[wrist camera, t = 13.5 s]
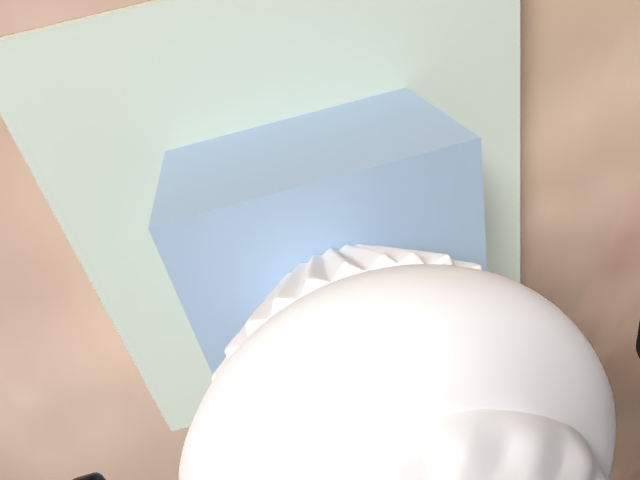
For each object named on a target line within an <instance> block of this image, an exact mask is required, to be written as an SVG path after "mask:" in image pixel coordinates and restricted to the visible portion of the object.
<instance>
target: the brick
mask: <svg viewBox="0 0 640 480" xmlns="http://www.w3.org/2000/svg"><path fill="white" fill-rule="evenodd" d="M148 230H149V232H150V234H151V237H152V239H153V241H154V243H155V246H156V248H157V250H158V252H159V255H160V257H161V259H162V261H163V264H164V266H165V268H166V271H167V273H168V275H169V277H170V280H171V282H172V284H173V286H174V289H175V291H176V293H177V295H178V298H179V300H180V302H181V304H182V307H183V309H184V311H185V313H186V316H187V318H188V320H189V323H190V325H191V327H192V329H193V332H194V334H195V336H196V338H197V341H198V343H199V345H200V347H201V350H202V352H203V354H204V356H205V359H206V361H207V363H208V365H209V368H210V370H211V372H212V375H213V374H214V372H215V371H216V369H217V368H218V367H219V365H220V364H221V363H222V361H223V360H224V359H225V357H226V354H225V352H224V351H225V348H226V346H227V345H228V344H229V343H230V342H231V341H232V339H233V338H234V337H235V336H236V335H237V334H238V332H239V331H240V330H241V329H242V328H243V326H244V325H245V324H246V322H247V320H248V319H249V317H250V316H251V315H252V314H253V313H254V312H255V311H256V309H257V308H258V307H259V306H260V305H261V303H262V302H263V301H264V300H265V299H266V298H267V296H268V295H269V294H270V293H271V292H272V291H273V289H274V288H275V287H276V286H277V285H278V284H279V282H280V281H281V280H282V279H283V278H284V277H285V276H286V275H287V274H288V273H292V272H293V270H294V269H295V268H296V267H297V265H298V264H299V263H307V262H309V261H310V259H311V257H312V255H314V254H317V255H323V254H324V253H325V252H326V251H327V250H328V249H329V248H333V249H335V250H339V249H340V248H341V247H343V246H344V245H346V244H348V245H352V246H355V245H356V244H365V245H371V246H373V245H379V246H386V247H394V248H402V249H409V250H418V251H426V252H434V253H442V254H447V255H449V256H451V258H452V259H453V260H459V261H465V262H471V263H476V264H479V265H480V266H481V267H482V270H483V271H487V259H486V237H485V215H484V193H483V170H482V148H481V137H480V136H478V135H477V134H475V133H474V132H472V131H471V130H469V129H468V128H466V127H465V126H463V125H462V124H460V123H459V122H457V121H456V120H454V119H453V118H451V117H450V116H448V115H447V114H445V113H444V112H442V111H441V110H439V109H438V108H436V107H435V106H433V105H432V104H430V103H429V102H427V101H426V100H424V99H423V98H421V97H420V96H418V95H417V94H415V93H414V92H412V91H411V90H409V89H408V88H406V87H405V88H402V89H398V90H394V91H390V92H386V93H383V94H379V95H375V96H371V97H368V98H364V99H360V100H356V101H352V102H349V103H345V104H341V105H337V106H334V107H330V108H326V109H322V110H318V111H315V112H311V113H307V114H303V115H300V116H296V117H292V118H288V119H284V120H281V121H277V122H273V123H269V124H266V125H262V126H258V127H254V128H250V129H247V130H243V131H239V132H235V133H232V134H228V135H224V136H220V137H216V138H213V139H209V140H205V141H201V142H198V143H194V144H190V145H186V146H182V147H179V148H175V149H171V150H167V151H165V154H164V159H163V163H162V168H161V172H160V177H159V181H158V186H157V190H156V195H155V199H154V204H153V208H152V213H151V217H150V221H149V226H148Z"/></svg>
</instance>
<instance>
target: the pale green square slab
mask: <svg viewBox="0 0 640 480" xmlns="http://www.w3.org/2000/svg"><path fill="white" fill-rule="evenodd" d="M405 87H406V88H408V89H409V90H411V91H412V92H414V93H415V94H417V95H418V96H420V97H421V98H423V99H424V100H426V101H427V102H429V103H430V104H432V105H433V106H435V107H436V108H438V109H439V110H441V111H442V112H444V113H445V114H447V115H448V116H450V117H451V118H453V119H454V120H456V121H457V122H459V123H460V124H462V125H463V126H465V127H466V128H468V129H469V130H471V131H472V132H474V133H475V134H477V135H478V136H480V137H481V148H482V170H483V193H484V215H485V237H486V259H487V272H491V273H495V274H498V275H501V276H504V277H506V278H509V279H511V280H514V281H516V282H518V283H520V0H152V1H148V2H144V3H140V4H136V5H132V6H128V7H123V8H119V9H115V10H111V11H107V12H103V13H99V14H95V15H90V16H86V17H82V18H78V19H74V20H70V21H66V22H62V23H57V24H53V25H49V26H45V27H41V28H37V29H33V30H29V31H24V32H20V33H16V34H12V35H8V36H4V37H0V115H1V117H2V119H3V121H4V122H5V124H6V126H7V128H8V130H9V132H10V134H11V135H12V137H13V139H14V141H15V143H16V145H17V147H18V148H19V150H20V152H21V154H22V156H23V158H24V160H25V161H26V163H27V165H28V167H29V169H30V171H31V173H32V174H33V176H34V178H35V180H36V182H37V184H38V185H39V187H40V189H41V191H42V193H43V195H44V197H45V198H46V200H47V202H48V204H49V206H50V208H51V210H52V211H53V213H54V215H55V217H56V219H57V221H58V223H59V224H60V226H61V228H62V230H63V232H64V234H65V236H66V237H67V239H68V241H69V243H70V245H71V247H72V249H73V250H74V252H75V254H76V256H77V258H78V260H79V262H80V263H81V265H82V267H83V269H84V271H85V273H86V275H87V276H88V278H89V280H90V282H91V284H92V286H93V287H94V289H95V291H96V293H97V295H98V297H99V299H100V300H101V302H102V304H103V306H104V308H105V310H106V312H107V313H108V315H109V317H110V319H111V321H112V323H113V325H114V326H115V328H116V330H117V332H118V334H119V336H120V338H121V339H122V341H123V343H124V345H125V347H126V349H127V351H128V352H129V354H130V356H131V358H132V360H133V362H134V364H135V365H136V367H137V369H138V371H139V373H140V375H141V377H142V378H143V380H144V382H145V384H146V386H147V388H148V390H149V391H150V393H151V395H152V397H153V399H154V401H155V402H156V404H157V406H158V408H159V410H160V412H161V414H162V415H163V417H164V419H165V421H166V423H167V425H168V427H169V428H170V430H171V432H172V431H175V430H179V429H182V428H185V427H189V426H191V423H192V421H193V418H194V416H195V414H196V412H197V410H198V408H199V406H200V403H201V401H202V399H203V397H204V395H205V393H206V391H207V390H208V388H209V386H210V385H211V383H212V381H211V379H212V372H211V370H210V368H209V365H208V363H207V361H206V359H205V356H204V354H203V352H202V350H201V347H200V345H199V343H198V341H197V338H196V336H195V334H194V332H193V329H192V327H191V325H190V323H189V320H188V318H187V316H186V313H185V311H184V309H183V307H182V304H181V302H180V300H179V298H178V295H177V293H176V291H175V289H174V286H173V284H172V282H171V280H170V277H169V275H168V273H167V271H166V268H165V266H164V264H163V261H162V259H161V257H160V255H159V252H158V250H157V248H156V246H155V243H154V241H153V239H152V237H151V234H150V232H149V230H148V226H149V221H150V217H151V213H152V208H153V204H154V199H155V195H156V190H157V186H158V181H159V177H160V172H161V168H162V163H163V159H164V154H165V151H167V150H171V149H175V148H179V147H182V146H186V145H190V144H194V143H198V142H201V141H205V140H209V139H213V138H216V137H220V136H224V135H228V134H232V133H235V132H239V131H243V130H247V129H250V128H254V127H258V126H262V125H266V124H269V123H273V122H277V121H281V120H284V119H288V118H292V117H296V116H300V115H303V114H307V113H311V112H315V111H318V110H322V109H326V108H330V107H334V106H337V105H341V104H345V103H349V102H352V101H356V100H360V99H364V98H368V97H371V96H375V95H379V94H383V93H386V92H390V91H394V90H398V89H402V88H405Z"/></svg>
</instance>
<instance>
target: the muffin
mask: <svg viewBox="0 0 640 480" xmlns="http://www.w3.org/2000/svg"><path fill="white" fill-rule="evenodd" d="M224 352H225V354H226V357H225V359H224V360H223V361H222V363H221V364H220V365H219V367H218V368H217V369H216V371H215V372H214V374H213V375H212V379H211V381H212V383H211V385H210V386H209V388H208V390H207V391H206V393H205V395H204V397H203V399H202V401H201V403H200V406H199V408H198V410H197V412H196V414H195V416H194V418H193V421H192V423H191V426H190V428H189V431H188V433H187V436H186V439H185V443H184V446H183V451H182V455H181V460H180V466H179V480H608V478H609V475H610V471H611V467H612V462H613V456H614V451H615V443H616V409H615V402H614V397H613V393H612V390H611V386H610V383H609V380H608V377H607V375H606V372H605V370H604V368H603V366H602V364H601V362H600V360H599V358H598V356H597V354H596V352H595V351H594V349H593V348H592V346H591V344H590V343H589V341H588V340H587V338H586V337H585V336H584V335H583V333H582V332H581V331H580V330H579V328H578V327H577V326H576V325H575V324H574V323H573V322H572V321H571V320H570V319H569V318H568V317H567V316H566V315H565V314H564V313H563V312H562V311H561V310H560V309H559V308H558V307H556V306H555V305H554V304H553V303H552V302H550V301H549V300H547V299H546V298H544V297H543V296H541V295H540V294H538V293H537V292H535V291H534V290H532V289H530V288H528V287H526V286H524V285H522V284H520V283H518V282H516V281H514V280H511V279H509V278H506V277H504V276H501V275H498V274H495V273H491V272H487V271H483V270H482V267H481V266H480V265H479V264H476V263H471V262H465V261H459V260H453V259H452V258H451V256H449V255H447V254H442V253H434V252H426V251H418V250H409V249H402V248H394V247H386V246H379V245H373V246H371V245H365V244H356V245H355V246H352V245H348V244H346V245H344V246H343V247H341V248H340V249H339V250H335V249H333V248H329V249H328V250H327V251H326V252H325V253H324V254H323V255H317V254H314V255H312V257H311V259H310V261H309V262H307V263H299V264H298V265H297V267H296V268H295V269H294V270H293V272H292V273H288V274H287V275H286V276H285V277H284V278H283V279H282V280H281V281H280V282H279V284H278V285H277V286H276V287H275V288H274V289H273V291H272V292H271V293H270V294H269V295H268V296H267V298H266V299H265V300H264V301H263V302H262V303H261V305H260V306H259V307H258V308H257V309H256V311H255V312H254V313H253V314H252V315H251V316H250V317H249V319H248V320H247V322H246V324H245V325H244V326H243V328H242V329H241V330H240V331H239V332H238V334H237V335H236V336H235V337H234V338H233V339H232V341H231V342H230V343H229V344H228V345H227V346H226V348H225V351H224Z"/></svg>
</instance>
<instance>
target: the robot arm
mask: <svg viewBox="0 0 640 480" xmlns="http://www.w3.org/2000/svg"><path fill="white" fill-rule="evenodd" d="M636 350H637V354H638V356H639V358H640V322H639V329H638V335H637V341H636ZM73 480H105V478H104V477H103V476H102V475H101V474H100V473H97V472H96V473H91V474H88V475H84V476H81V477H77V478H75V479H73Z"/></svg>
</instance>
